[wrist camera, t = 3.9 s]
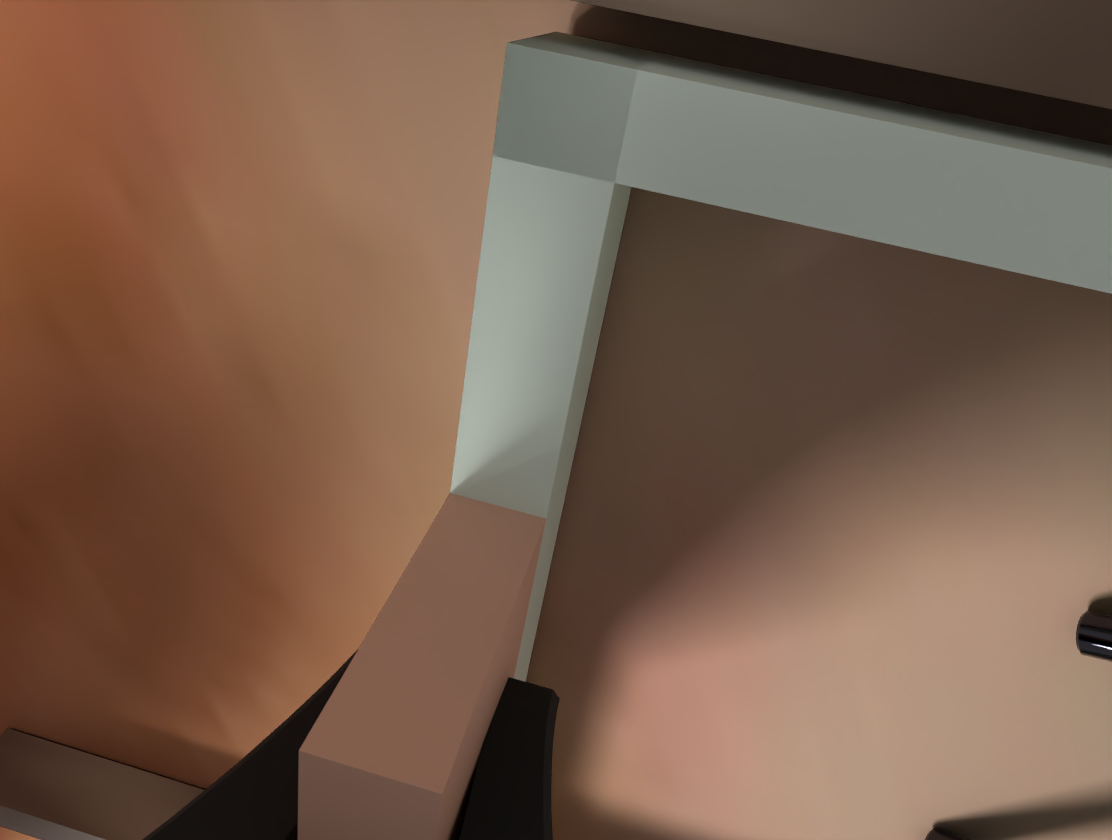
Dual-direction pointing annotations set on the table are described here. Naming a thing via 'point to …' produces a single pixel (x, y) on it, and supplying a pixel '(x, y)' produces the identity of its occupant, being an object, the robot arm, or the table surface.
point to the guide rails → (718, 3)
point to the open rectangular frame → (572, 338)
